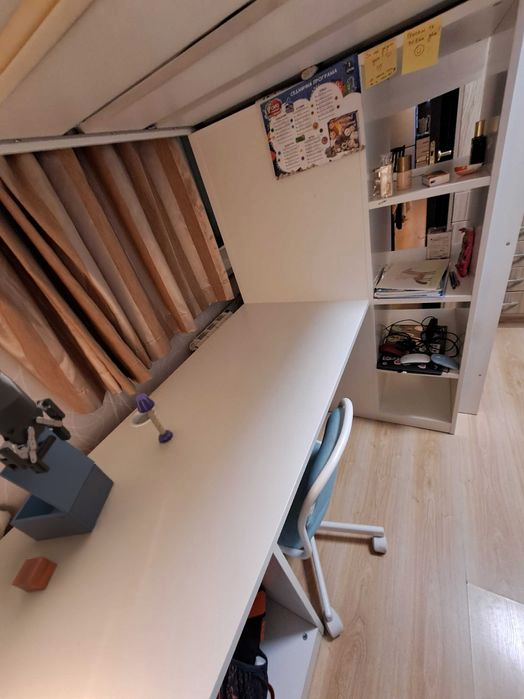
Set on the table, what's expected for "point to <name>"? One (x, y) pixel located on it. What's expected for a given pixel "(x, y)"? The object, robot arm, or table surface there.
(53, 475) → the lid
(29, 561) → the block
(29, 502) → the blue storage chest
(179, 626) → the table surface
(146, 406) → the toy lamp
